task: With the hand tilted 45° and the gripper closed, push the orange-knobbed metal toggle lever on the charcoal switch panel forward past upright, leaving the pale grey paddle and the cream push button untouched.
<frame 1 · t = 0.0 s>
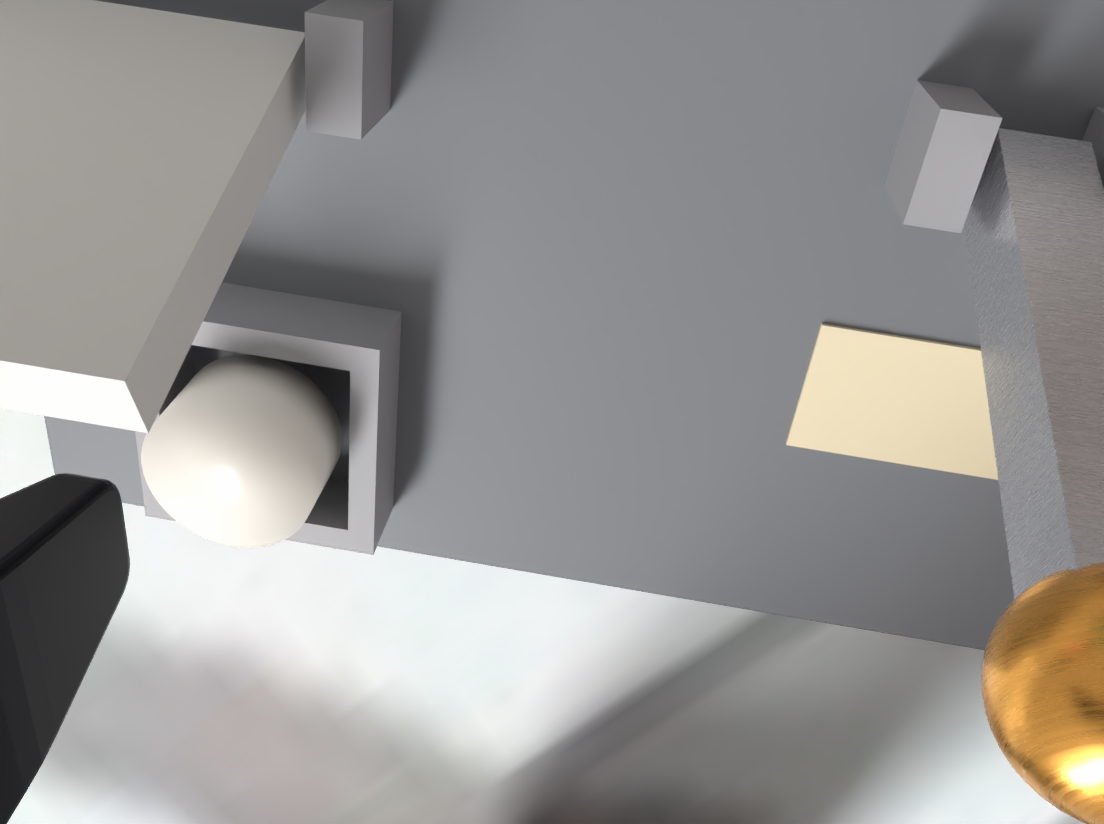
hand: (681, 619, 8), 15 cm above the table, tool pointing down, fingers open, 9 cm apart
grey paddle: (54, 180, 16), point 6 cm above the table, hinge at -22.0°
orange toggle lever: (1073, 425, 14), point 8 cm above the table, hinge at -22.0°
cream push button: (245, 451, 21), point 4 cm above the table, slide at 0.0 cm
switch panel: (611, 260, 22), on the table
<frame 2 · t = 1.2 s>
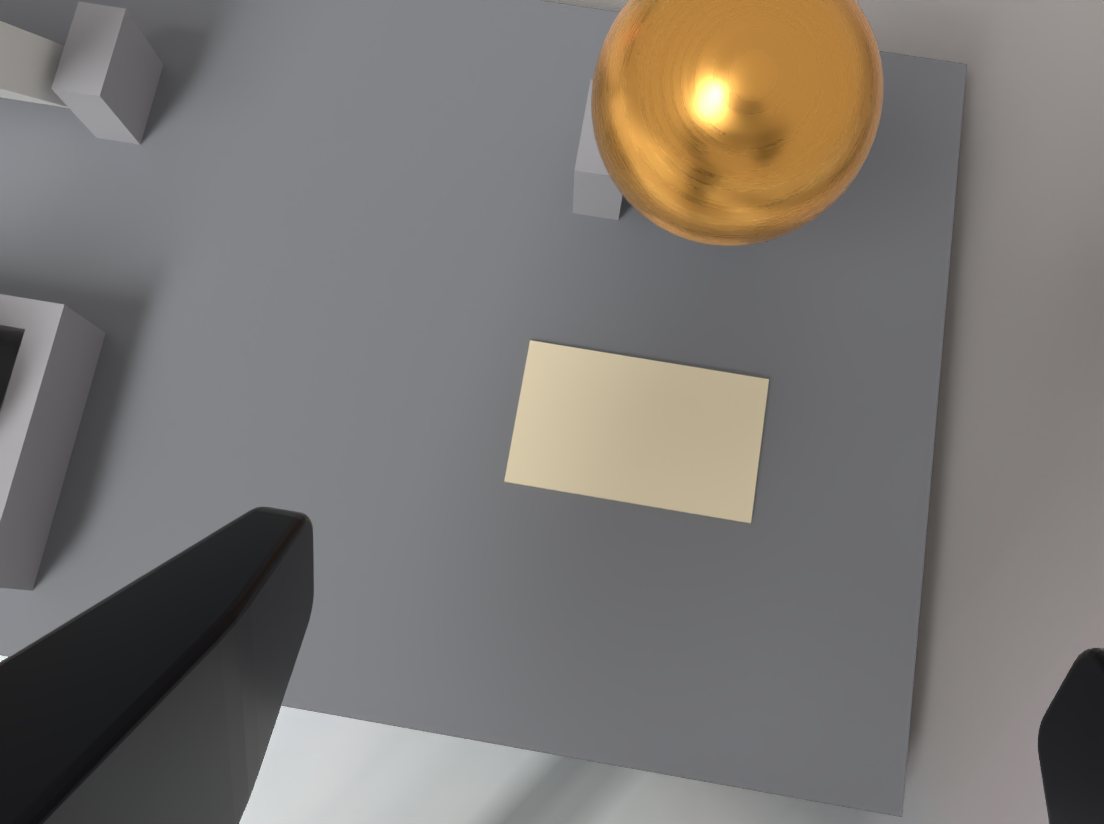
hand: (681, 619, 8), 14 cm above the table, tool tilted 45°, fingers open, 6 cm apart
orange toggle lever: (702, 143, 15), point 8 cm above the table, hinge at -22.0°
switch panel: (335, 328, 22), on the table
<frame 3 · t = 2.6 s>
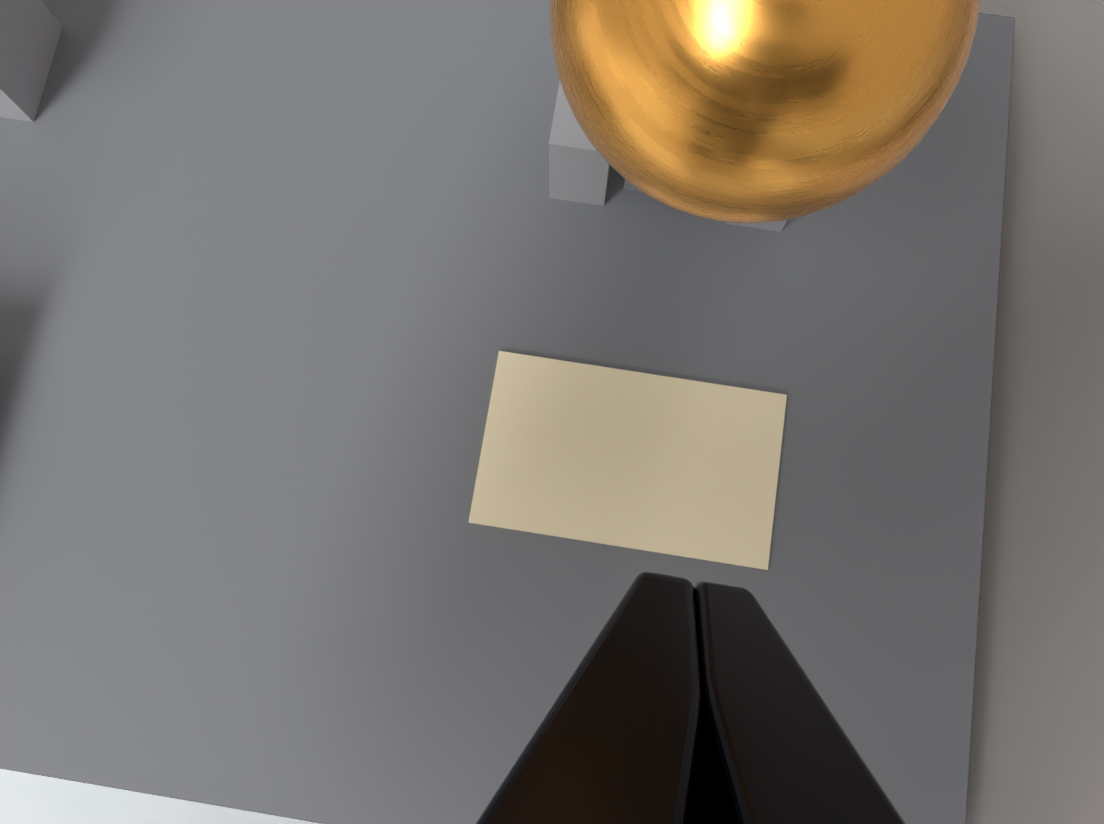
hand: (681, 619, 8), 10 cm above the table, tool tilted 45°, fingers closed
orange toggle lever: (706, 97, 12), point 8 cm above the table, hinge at -22.0°
switch panel: (270, 339, 19), on the table
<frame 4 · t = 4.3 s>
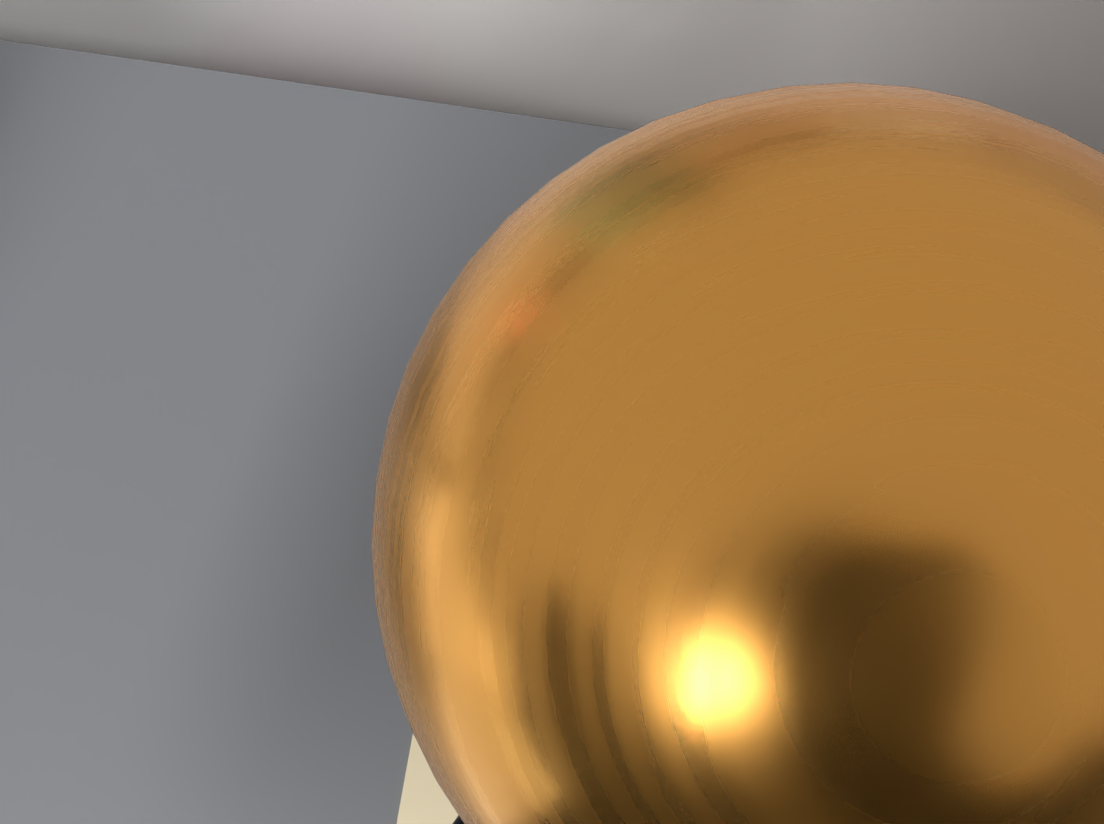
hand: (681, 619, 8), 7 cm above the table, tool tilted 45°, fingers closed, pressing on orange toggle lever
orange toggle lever: (698, 425, 8), point 8 cm above the table, hinge at -17.5°, touching gripper
switch panel: (149, 598, 15), on the table
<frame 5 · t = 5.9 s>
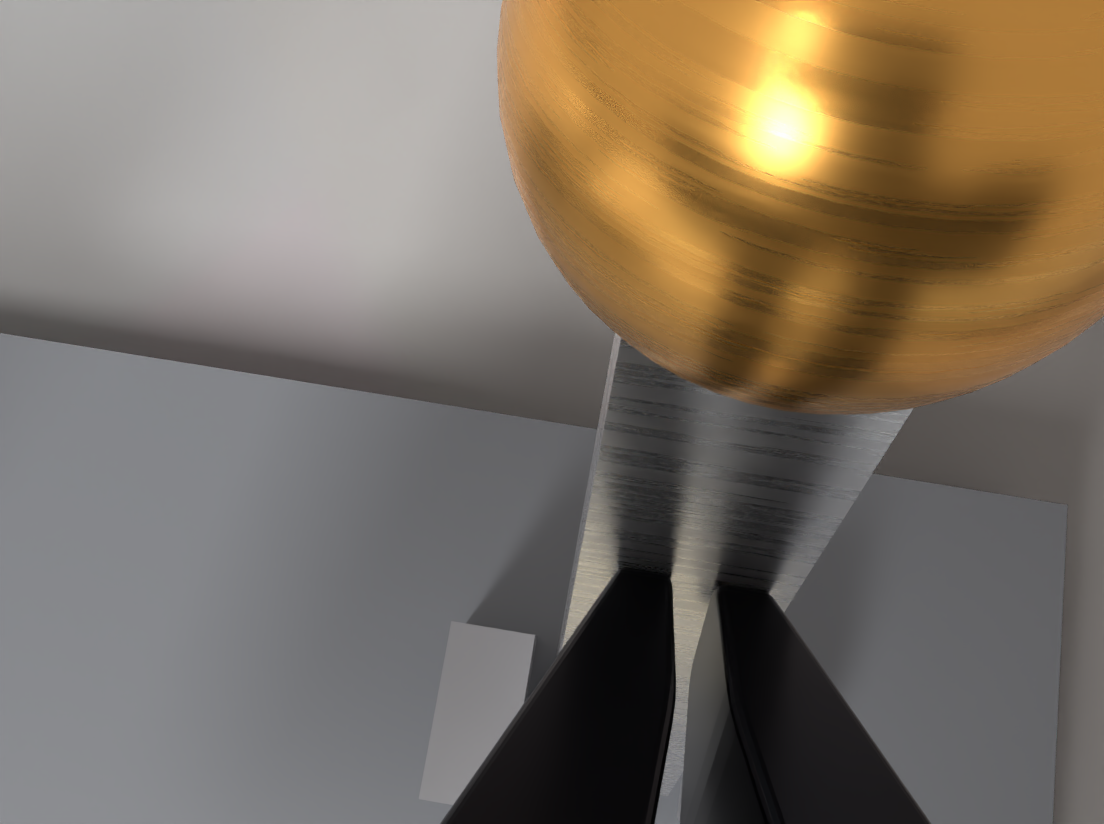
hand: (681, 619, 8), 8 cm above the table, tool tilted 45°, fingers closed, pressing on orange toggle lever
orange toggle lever: (688, 501, 8), point 8 cm above the table, hinge at 21.9°, touching gripper
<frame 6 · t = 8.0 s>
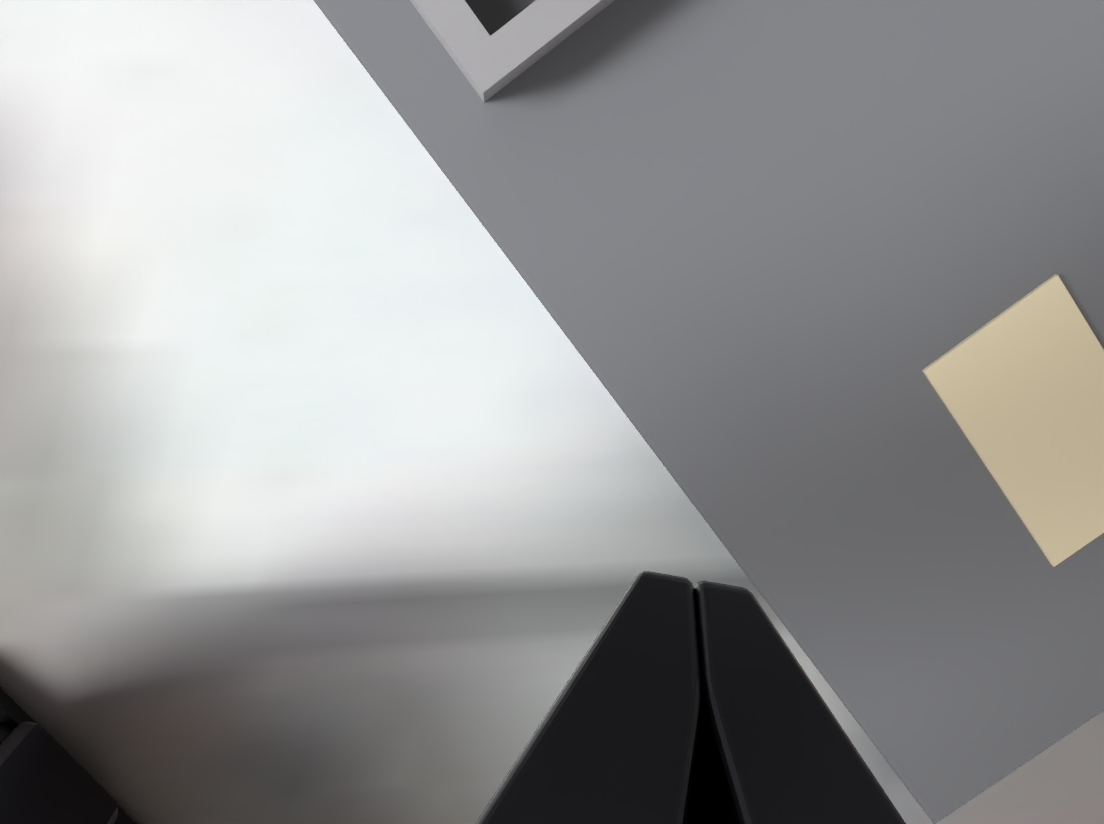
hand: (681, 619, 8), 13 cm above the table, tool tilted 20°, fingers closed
switch panel: (897, 80, 19), on the table
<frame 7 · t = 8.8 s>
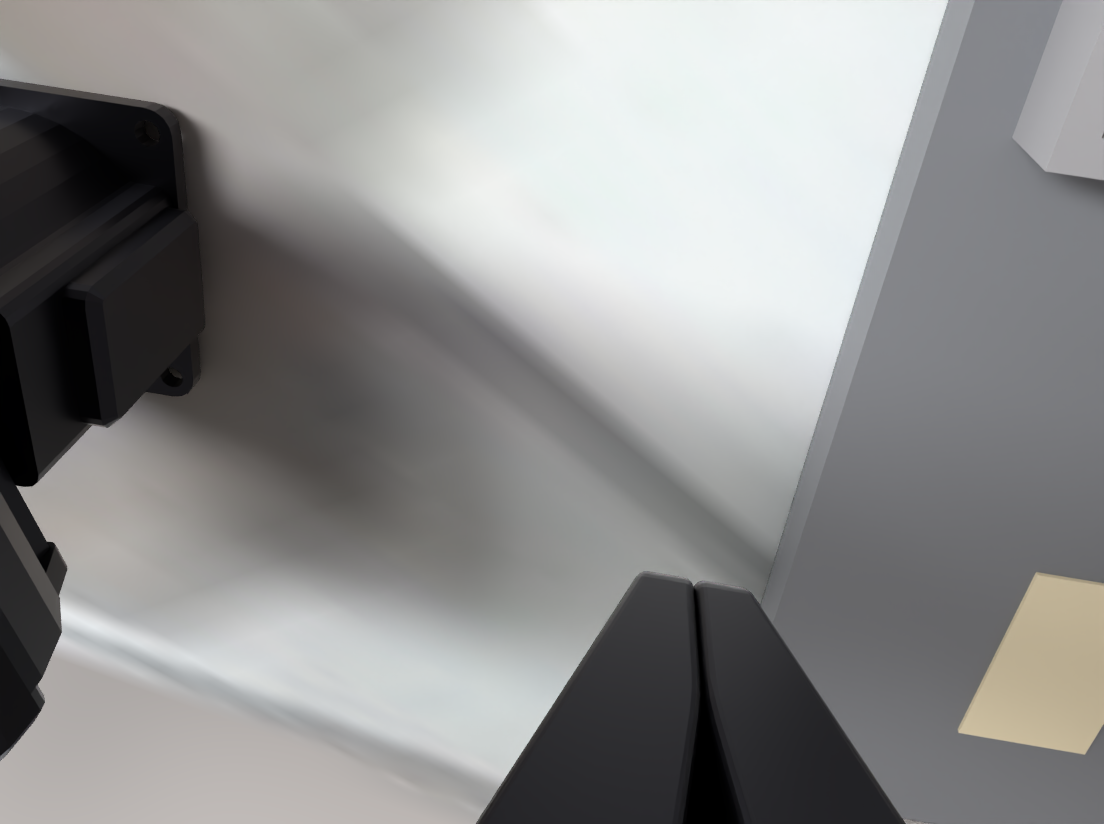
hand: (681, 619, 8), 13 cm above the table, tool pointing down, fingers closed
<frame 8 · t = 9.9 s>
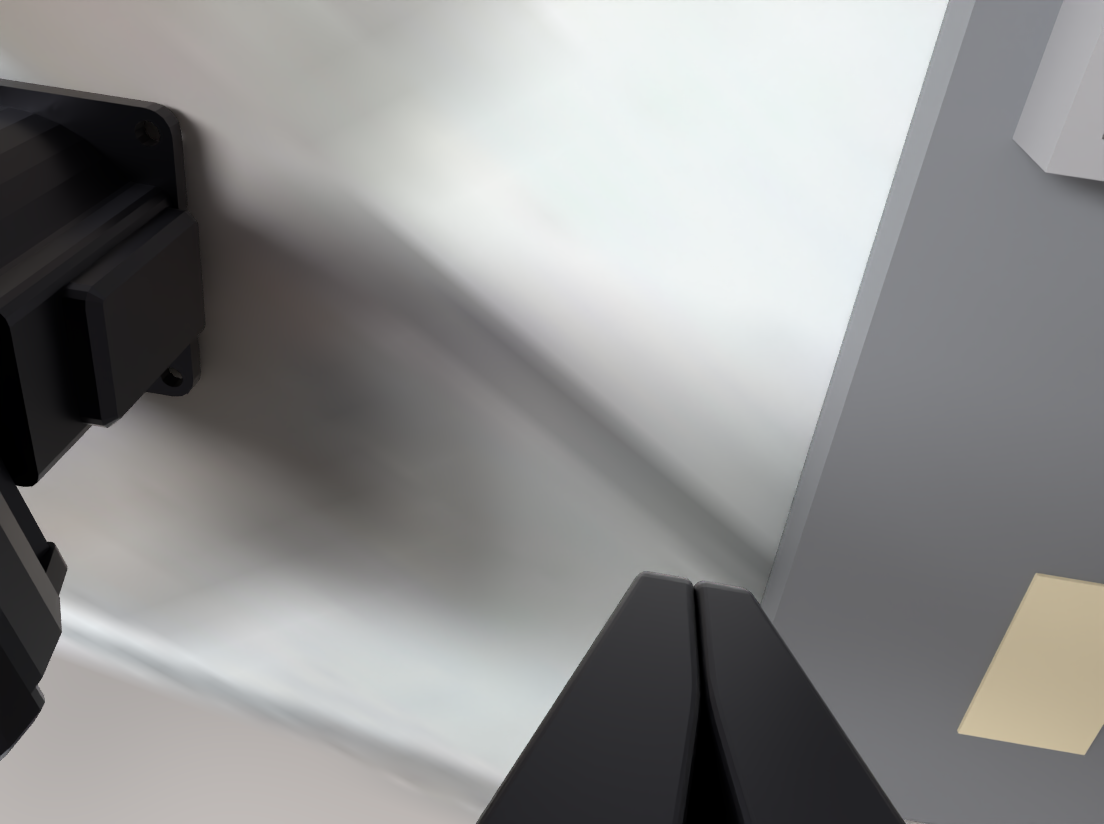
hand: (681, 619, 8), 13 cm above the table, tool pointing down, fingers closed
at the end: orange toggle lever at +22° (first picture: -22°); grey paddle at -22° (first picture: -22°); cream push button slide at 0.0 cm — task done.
